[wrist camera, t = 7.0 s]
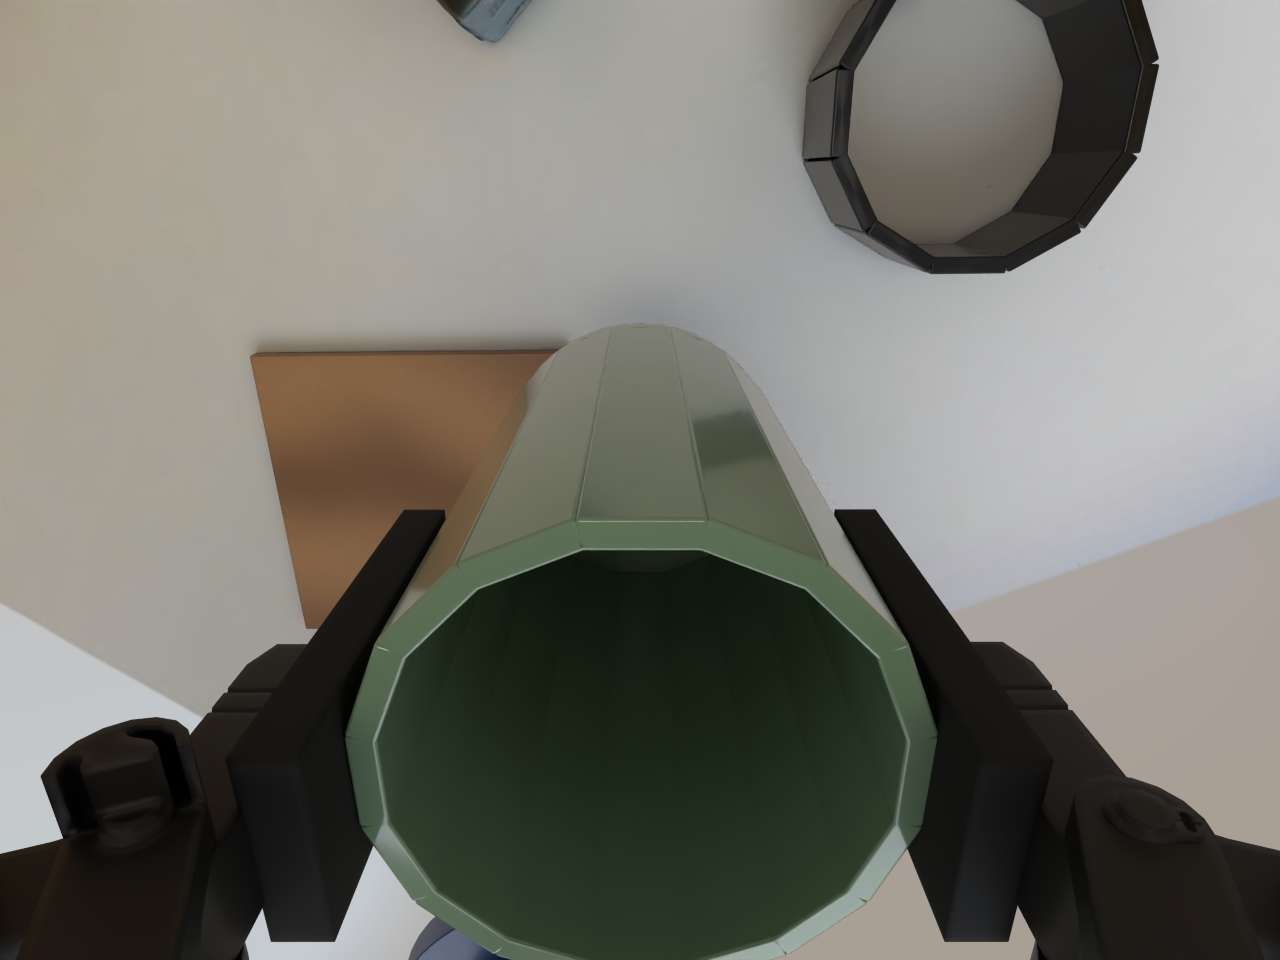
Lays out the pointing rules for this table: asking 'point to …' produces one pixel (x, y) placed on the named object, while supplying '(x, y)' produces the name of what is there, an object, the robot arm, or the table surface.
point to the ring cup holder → (1065, 186)
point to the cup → (641, 680)
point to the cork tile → (374, 446)
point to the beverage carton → (485, 15)
